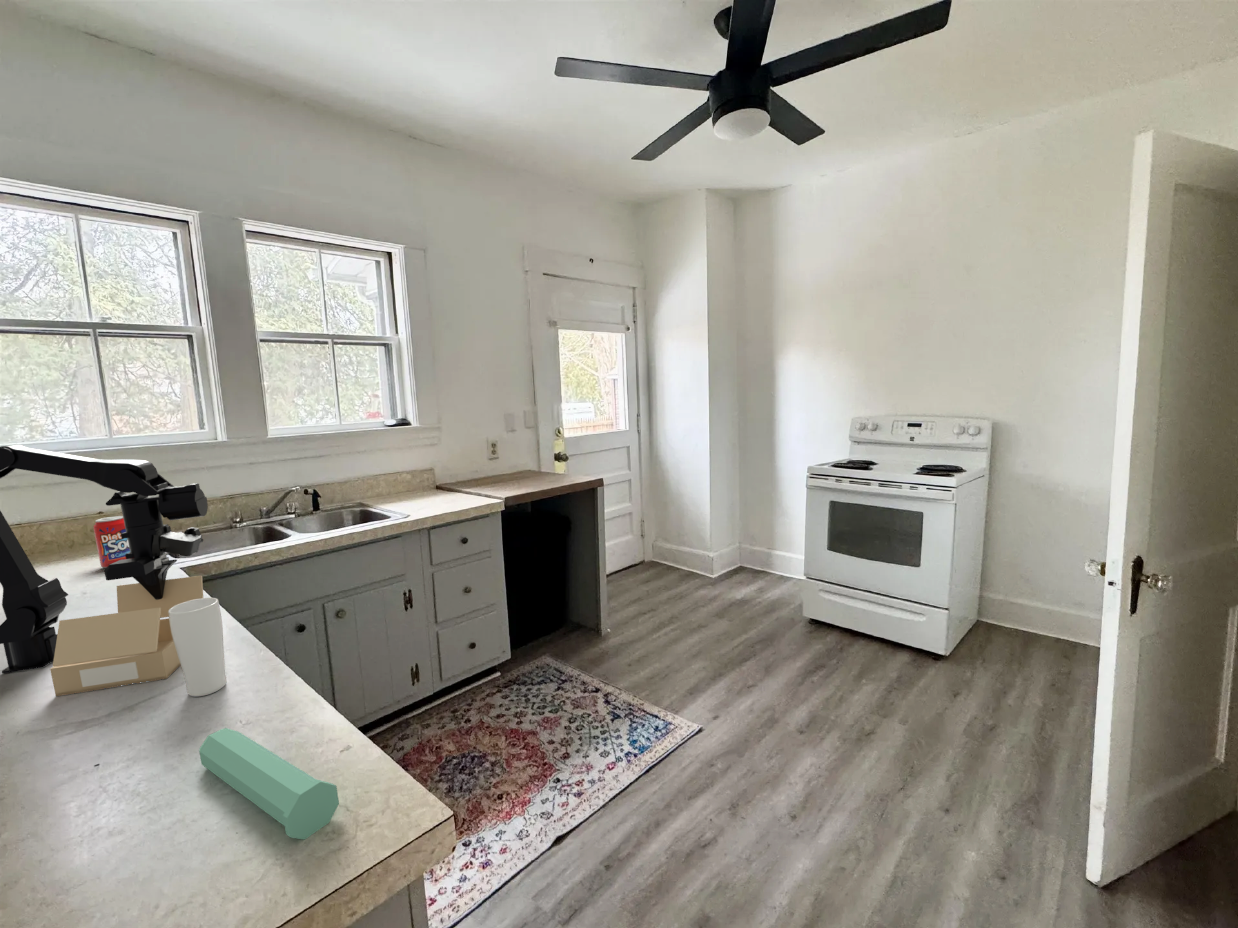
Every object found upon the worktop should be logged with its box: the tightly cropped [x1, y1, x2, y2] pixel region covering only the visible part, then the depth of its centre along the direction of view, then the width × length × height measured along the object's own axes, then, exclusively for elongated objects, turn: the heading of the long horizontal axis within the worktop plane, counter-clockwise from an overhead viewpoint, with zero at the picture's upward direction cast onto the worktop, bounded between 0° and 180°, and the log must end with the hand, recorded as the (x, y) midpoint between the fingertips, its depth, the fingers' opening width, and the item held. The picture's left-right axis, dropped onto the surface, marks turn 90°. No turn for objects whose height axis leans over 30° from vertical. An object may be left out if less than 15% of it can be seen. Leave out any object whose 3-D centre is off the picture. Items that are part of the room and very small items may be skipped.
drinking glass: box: [168, 597, 227, 698], centre depth 92 cm, size 7×7×15 cm
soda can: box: [93, 515, 132, 569], centre depth 169 cm, size 8×8×15 cm
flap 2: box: [116, 575, 204, 619], centre depth 113 cm, size 15×8×1 cm
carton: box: [49, 617, 181, 697], centre depth 104 cm, size 16×18×5 cm
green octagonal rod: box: [198, 727, 340, 840], centre depth 68 cm, size 6×6×25 cm
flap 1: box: [52, 608, 161, 667], centre depth 96 cm, size 15×8×1 cm
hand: (159, 598), depth 112 cm, fingers closed
